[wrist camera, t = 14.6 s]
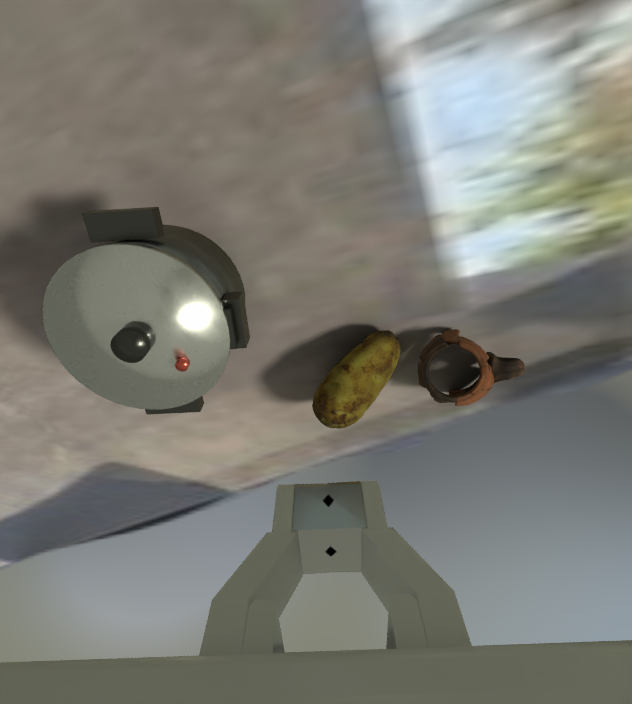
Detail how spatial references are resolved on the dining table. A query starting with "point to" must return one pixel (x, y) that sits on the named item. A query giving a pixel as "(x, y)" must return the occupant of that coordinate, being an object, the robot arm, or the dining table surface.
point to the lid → (138, 325)
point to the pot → (184, 245)
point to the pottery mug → (489, 364)
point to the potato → (356, 380)
